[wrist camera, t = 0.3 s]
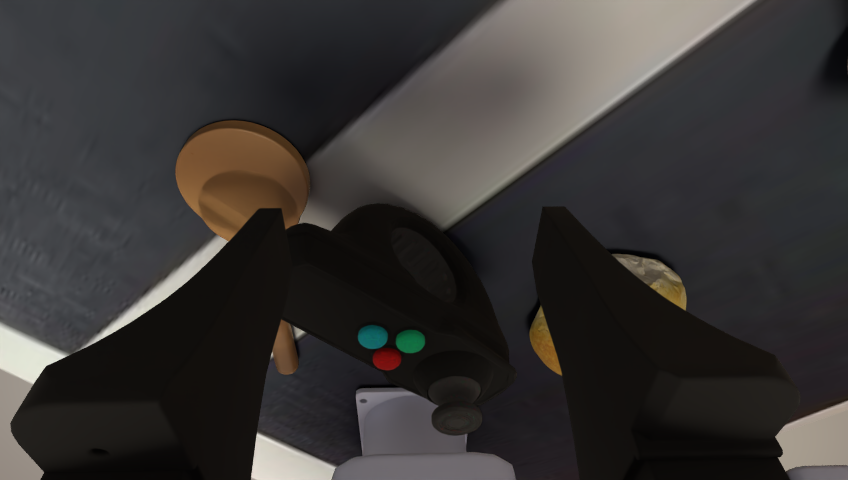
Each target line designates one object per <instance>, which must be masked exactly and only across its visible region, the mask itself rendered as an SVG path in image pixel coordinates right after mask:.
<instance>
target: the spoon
mask: <svg viewBox="0 0 848 480" xmlns="http://www.w3.org/2000/svg"><path fill="white" fill-rule="evenodd" d="M175 173H176V181H177V184H178V188H179V190H180V192H181V194H182V196H183V198H184V199H185V201H186V202H187V203H188V205H189V206H190V207H191V208H192V209H193V210H194V211H195V212H196V213H197V214H198V215H199V216H200V217H202V218H203V220H204V222H205V223H206V224H207V226H208V227H209V228H210V229H211V230H212V231H214V232H215V233H216V234H217V235H219V236H220V237H222V238H224V239H225V240H227V241H230V240H231V239H232V237H233V236H234V235H235V234H236V233H237V232H238V231H239V230H240V229H241V227H242V226H243V225H244V224H245V223H246V222H247V221H248V220H249V218H250V217H251V216H252V215H253V214H254V213H255V212H256V211H257V210H258V209H259V208H282V213H283V218H284V223H285V228H286V229H287V228H289V227H290V226H293V225H296V224H298V223H299V219H300V216H301V214H302V213H303V211H304V209H305V207H306V204H307V201H308V197H309V192H310V176H309V171H308V169H307V166H306V163H305V162H304V160H303V158H302V156H301V155H300V154H299V152H298V151H297V149H296V148H295V147H294V146H293V145H292V144H291V143H290V142H289V141H287V140H286V139H285V138H284V137H282V136H281V135H279V134H278V133H276V132H274V131H272V130H271V129H269V128H266V127H264V126H261V125H258V124H255V123H251V122H246V121H235V120H231V121H221V122H216V123H213V124H210V125H207V126H205V127H203V128H201V129H199V130H198V131H196V132H195V133H194V134H193V135H192V136H191V137H190V138H189V139H188V140H187V142H186V143H185V145H184V146H183V148H182V150H181V151H180V153H179V156H178V158H177V162H176V170H175ZM272 353H273V357H274V361H275V364H276V368H277V370H278V371H279V372H280V373H282V374H285V375H289V374H292V373H294V372H295V371H296V370H297V368H298V365H299V360H298V356H297V351H296V347H295V342H294V338H293V333H292V329H291V325H290V324H289V323H287V322H285V321H283V320H282V319H281V322H280V326H279V329H278V333H277V336H276V340H275V343H274V347H273V350H272Z"/></svg>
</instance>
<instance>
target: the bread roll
mask: <svg viewBox="0 0 848 480" xmlns="http://www.w3.org/2000/svg"><path fill="white" fill-rule="evenodd" d="M612 255H613V256H614V257H615V258H616V259H617V260H618V261H619V262H620V263H622V264H623V265H624V266H625V267H626V268H627V269H628V270H630V271H631V272H632V273H633V274H634V275H636V276H637V277H638V278H639V279H641V280H642V281H643V282H644V283H646V284H647V285H648V286H650V287H651V288H653V289H654V290H655V291H657V292H658V293H659V294H661V295H662V296H664V297H665V298H667V299H668V300H670V301H671V302H673V303H674V304H676V305H677V306H679V307H681V308H682V309H684V310H685V311H686V293H685V288H684V286H683V284H682V281H681V279H680V277H679V276H678V275H677V274H676V273H675V272H674V271H672V270H671V269H670V268H668V267H667V266H665V265H664V264H663V263H662V262H660V261H659V260H655V259H650V258H643V257H638V256H635V255H629V254H612ZM530 341H531V344H532V346H533V348H534V350H535V352H536V353H537V355H538V356H539V357H540V359H541V360H542V361H543V362H544V363H545V364H546V365H547V366H548V367H549V368H550V369H551V370H553V371H554V372H556V373H558V374H560V375H562V373H561V369H560V365H559V361H558V357H557V354H556V351H555V348H554V345H553V342H552V338H551V335H550V332H549V329H548V326H547V323H546V320H545V316H544V313H543V310H542V307H541V306H540V309H539V311H538V313H537V315H536V317H535V319H534V321H533V323H532V325H531V328H530Z"/></svg>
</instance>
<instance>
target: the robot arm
mask: <svg viewBox="0 0 848 480" xmlns="http://www.w3.org/2000/svg"><path fill="white" fill-rule="evenodd" d="M532 265H533V271H534V277H535V283H536V289H537V294H538V297H539V300H540V303H541V307H542V310H543V313H544V316H545V320H546V323H547V326H548V329H549V332H550V335H551V338H552V342H553V345H554V348H555V351H556V354H557V357H558V361H559V365H560V369H561V373H562V378H563V383H564V388H565V393H566V398H567V403H568V409H569V415H570V420H571V426H572V432H573V438H574V444H575V451H576V457H577V464H578V470H579V478H580V480H848V466H847V465H833V466H832V465H830V466H829V465H828V466H801V467H795V468H792V469H790V470H788V471H786V472H785V470H784V468H783V466H782V465H781V463H780V461H779V459H778V457H781V456H782V454H783V452H782V451H783V450H782V448H781V447H780V445H779V443H778V441H777V440H776V438H775V436H776V435H777V434H778V433H779V431H780V430H781V429H782V428H783V427H784V425H785V424H786V423H787V422H788V421H789V419H790V418H791V417H792V416H793V414H794V413H795V411H796V409H797V408H798V406H799V404H800V393H799V391H798V389H797V387H796V385H795V384H794V382H793V381H792V379H791V378H790V376H789V375H788V373H787V372H786V370H785V369H784V367H783V366H782V364H781V363H780V361H779V360H778V359H777V358H776V356H775V355H773V354H771V353H769V352H766V351H764V350H762V349H760V348H757V347H755V346H753V345H751V344H748V343H746V342H744V341H741V340H739V339H737V338H735V337H733V336H731V335H729V334H727V333H725V332H723V331H721V330H719V329H717V328H715V327H713V326H711V325H709V324H708V323H706V322H704V321H702V320H700V319H699V318H697V317H695V316H693V315H692V314H690V313H689V312H687V311H685V310H684V309H682V308H681V307H679V306H677V305H676V304H674V303H673V302H671V301H670V300H668V299H667V298H665V297H664V296H662V295H661V294H659V293H658V292H657V291H655V290H654V289H653V288H651V287H650V286H648V285H647V284H646V283H644V282H643V281H642V280H641V279H639V278H638V277H637V276H636V275H634V274H633V273H632V272H631V271H630V270H628V269H627V268H626V267H625V266H624V265H623V264H622V263H620V262H619V261H618V260H617V259H616V258H615V257H614V256H613V255H612V254H610V253H609V252H608V251H607V250H606V249H605V248H604V247H603V246H602V245H601V244H600V243H599V242H598V241H597V240H596V239H595V238H594V237H593V236H592V235H591V234H590V233H589V232H588V231H587V230H586V229H585V227H584V226H583V225H582V224H581V223H580V222H579V221H578V220H577V219H576V218H575V217H574V216H573V215H572V214H571V213H570V212H569V211H568V210H567V209H566V207H543V208H542V213H541V218H540V223H539V229H538V234H537V239H536V244H535V249H534V254H533V259H532ZM291 270H292V259H291V254H290V249H289V244H288V239H287V234H286V228H285V223H284V218H283V213H282V208H259V209H258V210H257V211H256V212H255V213H254V214H253V215H252V216H251V217H250V218H249V220H248V221H247V222H246V223H245V224H244V225H243V226H242V227H241V229H240V230H239V231H238V232H237V233H236V234H235V235H234V236H233V237H232V239H231V240H230V241H229V242H228V243H227V244H226V245H225V246H224V247H223V248H222V249H221V250H220V251H219V252H218V253H217V254H216V255H215V256H214V257H213V258H212V259H211V260H210V261H209V262H208V263H207V264H206V265H205V266H204V267H203V268H202V269H201V270H200V271H199V272H198V273H197V274H195V275H194V276H193V277H192V278H191V279H190V280H189V281H188V282H186V283H185V284H184V285H183V286H182V287H180V288H179V289H178V290H176V291H175V292H174V293H173V294H171V295H170V296H169V297H167V298H166V299H165V300H163V301H162V302H161V303H159V304H158V305H156V306H155V307H153V308H152V309H150V310H149V311H147V312H146V313H144V314H143V315H141V316H140V317H138V318H137V319H135V320H134V321H132V322H131V323H129V324H127V325H126V326H124V327H122V328H121V329H119V330H117V331H116V332H114V333H112V334H110V335H108V336H107V337H105V338H103V339H101V340H99V341H98V342H96V343H94V344H92V345H90V346H88V347H86V348H84V349H82V350H80V351H78V352H75V353H73V354H71V355H69V356H67V357H65V358H63V359H61V360H59V361H57V362H54V363H52V364H50V365H48V366H46V367H45V369H44V370H43V371H42V373H41V374H40V376H39V377H38V379H37V380H36V382H35V383H34V385H33V386H32V388H31V390H30V391H29V393H28V394H27V396H26V398H25V399H24V401H23V403H22V404H21V406H20V408H19V409H18V411H17V412H16V414H15V416H14V417H13V419H12V421H11V423H10V424H11V432H12V434H13V436H14V438H15V439H16V440H17V442H18V444H19V445H20V446H21V447H22V448H23V449H24V450H25V452H26V453H27V454H28V455H29V456H30V457H31V458H32V459H33V460H34V461H35V462H36V464H37V465H38V466H39V467H40V468H41V469H42V470H43V471H44V474H43V476H42V478H41V480H251V473H252V465H253V457H254V450H255V442H256V435H257V428H258V421H259V415H260V408H261V402H262V396H263V390H264V384H265V378H266V373H267V369H268V365H269V361H270V357H271V354H272V350H273V347H274V343H275V340H276V336H277V333H278V329H279V326H280V322H281V319H282V315H283V312H284V308H285V304H286V301H287V297H288V292H289V285H290V278H291ZM356 404H357V412H358V420H359V429H360V437H361V445H362V453H363V455H362V456H359V457H354V458H352V459H350V460H348V461H346V462H345V463H343V464H341V465H339V466H338V467H337V468H335V471H334V474H333V477H332V479H331V480H516V478H515V474H514V470H513V467H512V465H511V464H510V463H508V462H507V461H505V460H503V459H501V458H499V457H498V456H496V455H493V454H485V453H477V452H466V441H467V434H465V435H459V436H452V435H446V434H443V433H440V432H439V431H437V430H436V429H435V428H434V427H433V425H432V420H431V415H432V413H433V411H434V410H435V409H436V408H437V407H438V406H437V405H435V404H433V403H432V402H430V401H428V400H427V399H425V398H423V397H421V396H419V395H416V394H414V393H412V392H410V391H407V390H405V389H403V388H360V389H358V390H357V391H356Z"/></svg>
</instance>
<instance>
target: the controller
mask: <svg viewBox="0 0 848 480" xmlns="http://www.w3.org/2000/svg"><path fill="white" fill-rule="evenodd" d="M286 234H287V239H288V244H289V249H290V254H291V259H292V270H291V278H290V285H289V292H288V297H287V301H286V304H285V308H284V312H283V315H282V320H283V321H285V322H287V323H289V324H291V325H293V326H295V327H297V328H299V329H301V330H303V331H305V332H306V333H308V334H310V335H312V336H314V337H316V338H318V339H320V340H322V341H324V342H326V343H327V344H329V345H331V346H333V347H335V348H337V349H339V350H341V351H343V352H345V353H347V354H349V355H350V356H352V357H354V358H356V359H358V360H360V361H362V362H364V363H366V364H368V365H370V366H372V367H373V368H375V369H377V370H379V371H381V372H382V373H383V374H384V376H385V378H386V379H387V380H388V382H389V383H392V384H394V385H396V386H398V387H401V388H403V389H405V390H407V391H410V392H412V393H414V394H416V395H419V396H421V397H423V398H425V399H427V400H428V401H430V402H432V403H433V404H435V405H437V406H438V407H437V408H436V409H435V410H434V411H433V413H432V415H431V420H432V425H433V427H434V428H435V429H436V430H437V431H439V432H440V433H443V434H446V435H452V436H459V435H465V434H468V433H471V432H473V431H475V430H476V429H477V428H478V427H479V426H480V425H481V422H482V413H481V411H480V409H479V408H478V407H477V406H479V405H482V404H484V403H486V402H487V401H489V400H491V399H492V398H494V397H496V396H497V395H499V394H501V393H502V392H503V391H505V390H506V389H507V388H508V387H509V386H510V385H511V384H513V383H514V381H515V379H516V378H517V372H516V370H515V368H514V367H513V366H511V365H510V364H509V349H508V345H507V342H506V340H505V338H504V335H503V333H502V331H501V329H500V327H499V324H498V321H497V319H496V316H495V313H494V310H493V307H492V304H491V302H490V300H489V297H488V295H487V293H486V291H485V288H484V286H483V284H482V282H481V280H480V279H479V277H478V276H477V274H476V272H475V271H474V269H473V268H472V266H471V265H470V263H469V262H468V260H467V259H466V257H465V256H464V255H463V254H462V253H461V251H460V250H459V249H458V248H457V247H456V245H455V244H454V243H453V242H452V241H451V240H450V239H449V238H448V237H447V236H446V235H445V234H444V233H442V232H441V231H440V230H439V229H438V228H437V227H436V226H434V225H433V224H432V223H431V222H429V221H427V220H426V219H424V218H422V217H421V216H419V215H418V214H416V213H413V212H411V211H409V210H406V209H404V208H402V207H398V206H394V205H389V204H379V203H377V204H369V205H365V206H362V207H359V208H357V209H356V210H354V211H352V212H351V213H349V214H348V215H347V216H346V217H344V218H343V219H342V220H341V221H340V222H339V223H338V224H337V225H336V226H335V227H334V228H333V230H332V231H329V230H326V229H324V228H321V227H319V226H316V225H313V224H308V223H301V224H296V225H293V226H290V227H289V228H287V229H286Z"/></svg>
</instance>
